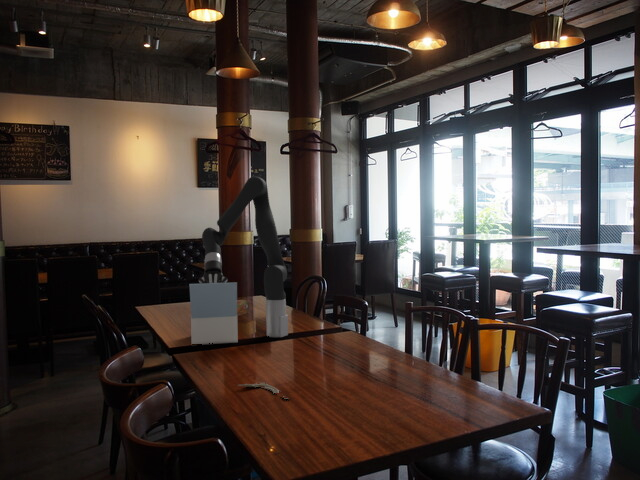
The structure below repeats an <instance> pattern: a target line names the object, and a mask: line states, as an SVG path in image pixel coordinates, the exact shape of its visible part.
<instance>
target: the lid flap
mask: <svg viewBox="0 0 640 480" xmlns="http://www.w3.org/2000/svg"><path fill="white" fill-rule="evenodd" d="M189 300H190V302H189V303H190V304H189V305H190V319H191V318H208V317H229V316H237V301H238V281H237V282H235V281H233V282H227V283H220V282H219V283H207V282H206V283H205V284H200V283H189ZM237 317H238V316H237Z"/></svg>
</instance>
